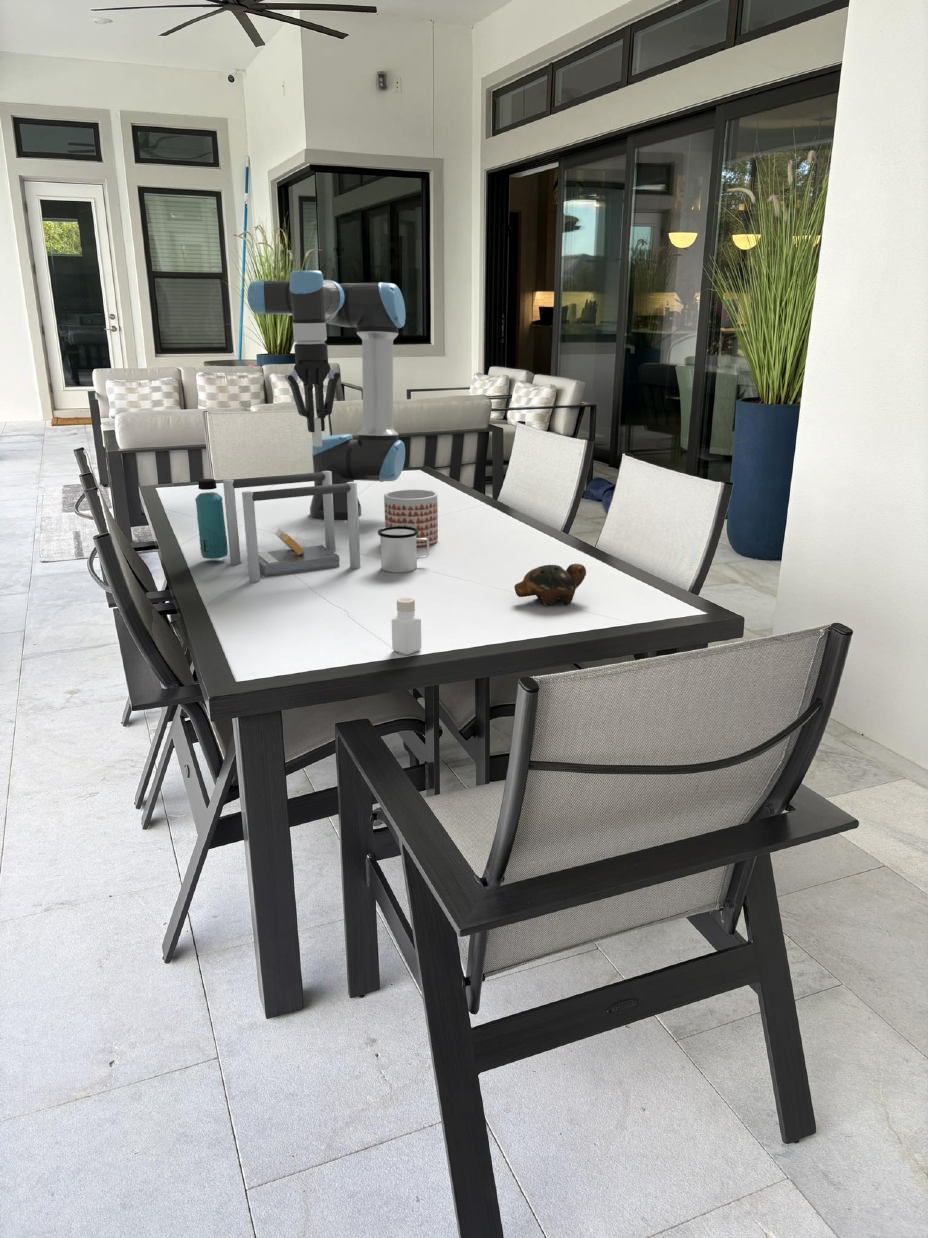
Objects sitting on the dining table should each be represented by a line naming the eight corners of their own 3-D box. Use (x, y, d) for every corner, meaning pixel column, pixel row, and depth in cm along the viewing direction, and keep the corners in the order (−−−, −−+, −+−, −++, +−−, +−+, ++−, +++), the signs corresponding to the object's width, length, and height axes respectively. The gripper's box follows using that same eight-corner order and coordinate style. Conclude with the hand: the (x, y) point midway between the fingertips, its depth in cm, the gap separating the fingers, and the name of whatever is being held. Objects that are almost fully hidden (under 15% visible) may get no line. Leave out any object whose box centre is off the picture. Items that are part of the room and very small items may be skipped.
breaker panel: (322, 554, 222) (322, 543, 221) (339, 566, 212) (339, 554, 211) (250, 564, 214) (250, 552, 213) (265, 576, 204) (264, 564, 203)
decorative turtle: (594, 604, 183) (594, 567, 180) (525, 616, 180) (524, 579, 176) (575, 588, 192) (575, 553, 189) (509, 599, 188) (507, 564, 185)
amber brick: (302, 549, 214) (286, 533, 211) (306, 552, 211) (289, 536, 208) (297, 554, 214) (281, 538, 211) (301, 557, 211) (285, 541, 208)
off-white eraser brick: (295, 544, 218) (279, 528, 215) (299, 547, 216) (283, 531, 213) (290, 549, 218) (274, 533, 215) (294, 552, 216) (278, 536, 213)
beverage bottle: (234, 559, 218) (227, 477, 211) (218, 566, 212) (210, 482, 206) (211, 557, 220) (203, 475, 213) (195, 563, 214) (186, 480, 208)
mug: (383, 575, 204) (382, 536, 201) (375, 564, 213) (374, 527, 210) (434, 570, 207) (433, 532, 205) (424, 560, 216) (423, 524, 213)
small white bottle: (406, 656, 156) (405, 604, 153) (391, 651, 158) (389, 600, 155) (422, 650, 159) (421, 599, 156) (407, 645, 161) (405, 594, 158)
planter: (446, 538, 237) (446, 491, 233) (423, 550, 225) (422, 500, 221) (401, 533, 242) (400, 487, 238) (376, 545, 231) (374, 496, 227)
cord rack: (333, 549, 226) (329, 470, 220) (362, 567, 210) (358, 483, 204) (229, 562, 215) (221, 479, 208) (251, 583, 199) (243, 493, 192)
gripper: (331, 340, 211) (337, 441, 219) (278, 342, 205) (286, 445, 213) (343, 342, 205) (348, 445, 213) (288, 344, 199) (296, 450, 207)
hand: (317, 445), depth 213 cm, fingers closed
